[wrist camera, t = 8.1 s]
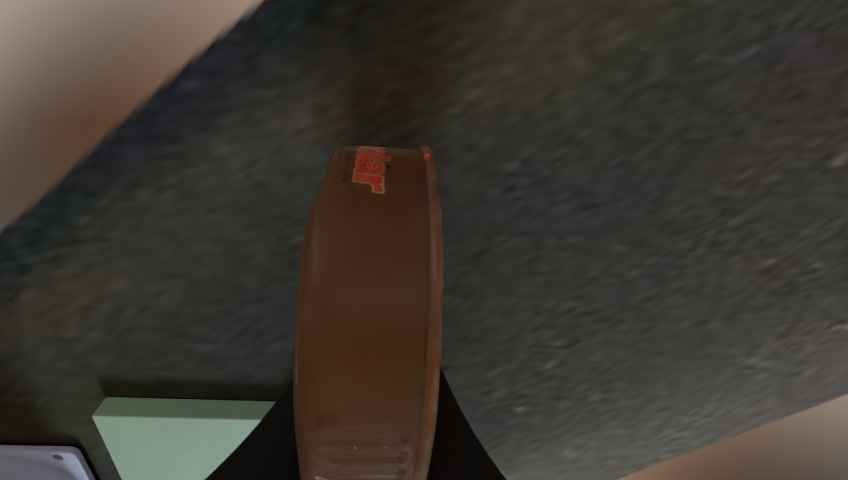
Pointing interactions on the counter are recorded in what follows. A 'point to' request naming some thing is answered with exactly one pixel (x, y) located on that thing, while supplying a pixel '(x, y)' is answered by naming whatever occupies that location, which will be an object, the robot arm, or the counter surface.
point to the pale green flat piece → (174, 434)
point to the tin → (370, 318)
